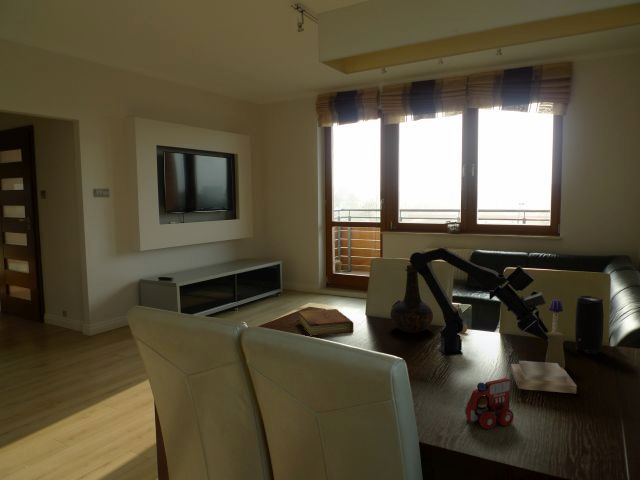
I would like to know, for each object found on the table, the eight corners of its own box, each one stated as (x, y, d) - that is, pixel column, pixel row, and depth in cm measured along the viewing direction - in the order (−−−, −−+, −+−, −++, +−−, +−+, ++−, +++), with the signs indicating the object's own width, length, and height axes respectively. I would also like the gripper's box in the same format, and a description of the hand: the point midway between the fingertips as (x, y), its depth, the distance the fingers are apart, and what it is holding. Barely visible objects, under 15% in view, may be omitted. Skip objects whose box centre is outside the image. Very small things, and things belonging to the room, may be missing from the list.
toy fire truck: (458, 419, 113) (458, 379, 112) (499, 411, 117) (499, 372, 116) (476, 433, 106) (477, 389, 106) (519, 424, 110) (519, 382, 110)
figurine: (471, 335, 185) (471, 306, 184) (456, 335, 184) (456, 306, 183) (463, 329, 193) (463, 301, 192) (449, 330, 192) (449, 302, 192)
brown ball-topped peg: (563, 363, 151) (564, 330, 150) (567, 369, 146) (567, 335, 145) (543, 361, 153) (544, 329, 152) (546, 367, 148) (546, 334, 147)
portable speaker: (582, 355, 159) (584, 300, 157) (569, 347, 168) (571, 294, 166) (608, 355, 158) (609, 300, 156) (594, 347, 167) (595, 294, 166)
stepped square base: (518, 388, 131) (518, 375, 131) (510, 370, 146) (511, 358, 145) (576, 393, 127) (576, 379, 127) (562, 374, 142) (562, 361, 141)
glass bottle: (401, 322, 206) (401, 261, 204) (439, 328, 196) (439, 263, 194) (382, 331, 192) (382, 266, 190) (422, 338, 181) (423, 269, 179)
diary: (353, 334, 191) (353, 320, 191) (310, 338, 187) (310, 324, 186) (338, 320, 213) (337, 308, 213) (299, 323, 209) (298, 311, 208)
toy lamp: (558, 341, 175) (559, 298, 174) (564, 345, 170) (565, 301, 169) (545, 341, 175) (546, 298, 174) (550, 344, 171) (551, 301, 169)
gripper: (529, 289, 143) (568, 327, 138) (531, 280, 159) (566, 313, 155) (502, 311, 147) (539, 349, 143) (506, 300, 163) (540, 334, 159)
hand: (547, 335), depth 150 cm, fingers open, 9 cm apart
